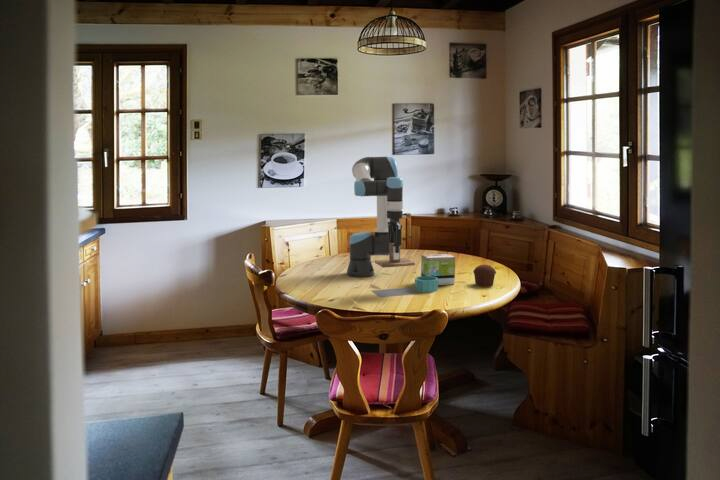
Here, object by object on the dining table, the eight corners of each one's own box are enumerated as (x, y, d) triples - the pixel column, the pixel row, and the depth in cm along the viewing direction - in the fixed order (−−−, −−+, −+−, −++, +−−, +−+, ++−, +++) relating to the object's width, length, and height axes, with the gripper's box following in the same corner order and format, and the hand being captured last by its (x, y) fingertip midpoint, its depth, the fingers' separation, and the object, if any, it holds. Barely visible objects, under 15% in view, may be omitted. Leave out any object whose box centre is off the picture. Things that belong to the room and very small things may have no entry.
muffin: (468, 284, 309) (468, 265, 308) (482, 281, 316) (482, 262, 315) (486, 288, 300) (486, 268, 299) (500, 284, 307) (501, 265, 305)
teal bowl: (411, 288, 301) (411, 276, 300) (432, 287, 304) (432, 275, 303) (420, 293, 290) (420, 281, 289) (441, 291, 293) (441, 279, 292)
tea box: (427, 286, 305) (428, 257, 303) (420, 282, 314) (420, 254, 312) (455, 284, 309) (455, 256, 307) (447, 280, 318) (447, 253, 316)
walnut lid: (374, 262, 294) (374, 242, 292) (405, 260, 298) (405, 240, 297) (383, 267, 282) (382, 246, 281) (414, 265, 287) (414, 244, 285)
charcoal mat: (370, 291, 296) (370, 290, 296) (408, 288, 302) (408, 287, 302) (379, 298, 283) (379, 297, 283) (419, 294, 288) (419, 293, 288)
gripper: (381, 208, 293) (381, 255, 297) (393, 212, 277) (393, 262, 281) (395, 207, 295) (395, 254, 299) (408, 211, 279) (408, 261, 283)
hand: (394, 258), depth 290 cm, fingers closed on walnut lid, 4 cm apart
